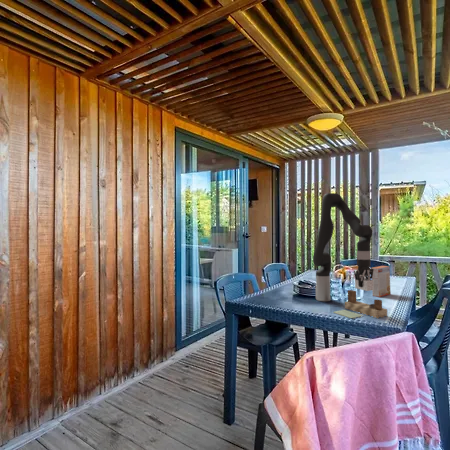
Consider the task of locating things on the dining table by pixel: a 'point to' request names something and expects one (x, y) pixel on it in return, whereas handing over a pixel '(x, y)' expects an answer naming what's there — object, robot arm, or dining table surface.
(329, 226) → the robot arm
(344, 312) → the mat
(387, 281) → the cracker box
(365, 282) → the beige rectangular block
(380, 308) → the plane body
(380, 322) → the dining table surface
